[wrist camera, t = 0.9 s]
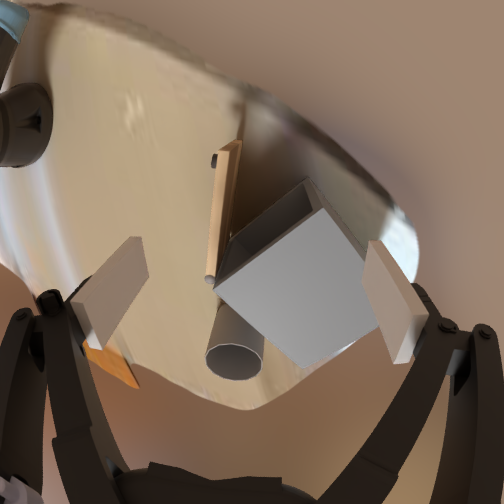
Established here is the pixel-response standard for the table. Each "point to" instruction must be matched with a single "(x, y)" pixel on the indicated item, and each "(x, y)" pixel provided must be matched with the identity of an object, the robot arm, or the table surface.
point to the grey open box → (298, 277)
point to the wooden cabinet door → (222, 205)
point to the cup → (234, 347)
